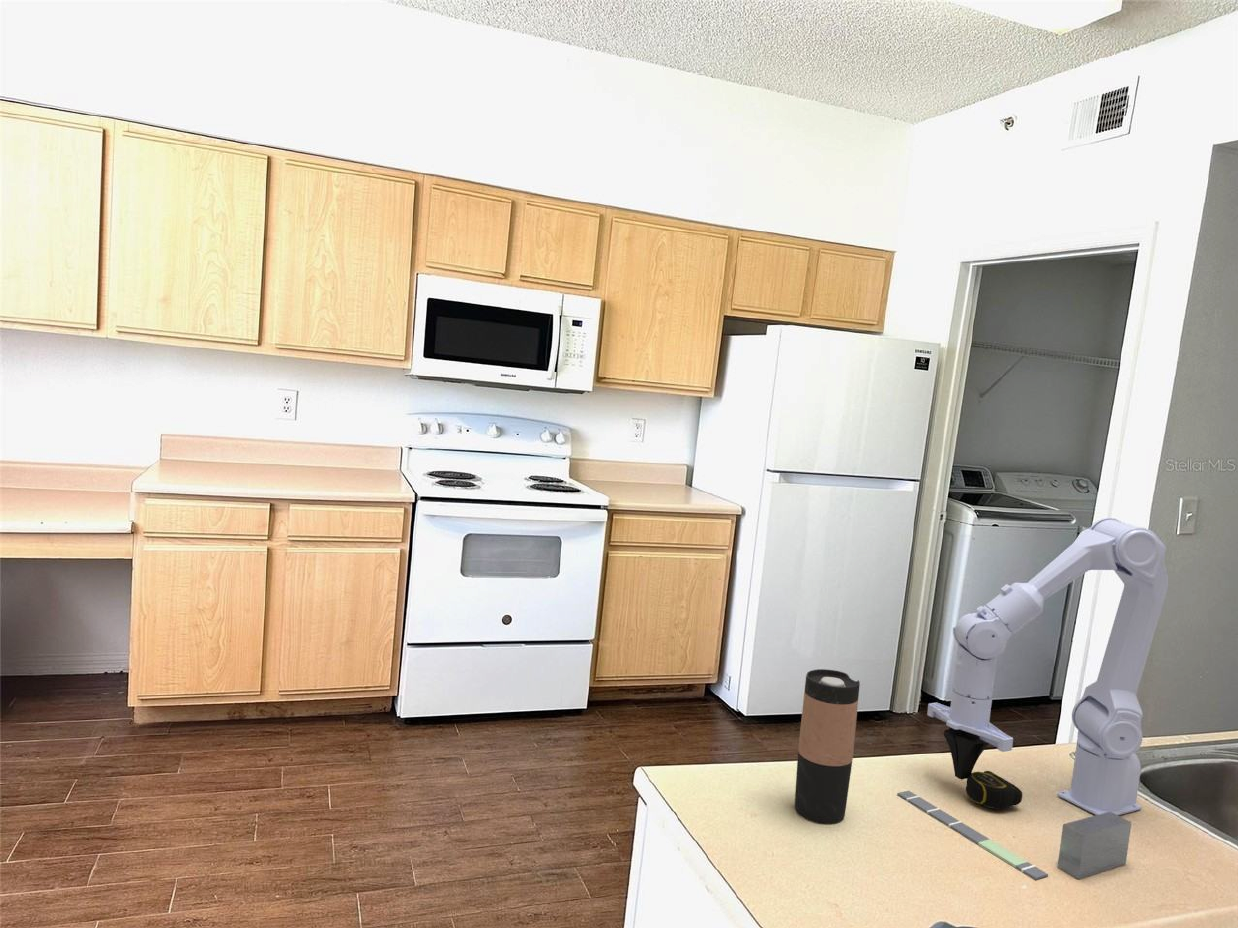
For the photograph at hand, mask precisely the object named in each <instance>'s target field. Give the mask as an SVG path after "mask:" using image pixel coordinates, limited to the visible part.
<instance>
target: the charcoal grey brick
mask: <svg viewBox="0 0 1238 928" xmlns="http://www.w3.org/2000/svg"><path fill="white" fill-rule="evenodd" d="M1131 829H1132V821H1131V820H1128V819H1126V818H1123V817H1122V816H1121V815H1116V814H1114V813H1112V812H1107V813H1103V814H1099V815H1093V816H1089V817H1085V818H1081V819H1078V820H1074V821H1071V822H1067V823H1063V824H1062V830H1061V838H1060V846H1059V854H1058V858H1057V860H1058V861H1057V868H1058V869H1059V870H1062V871H1063V872H1065V873H1066V874H1068V875H1070V876H1071V877H1073V878H1075V879H1077V880H1082V879H1085V878H1087V877H1091V876H1094V875H1097V874H1101V873H1103V872H1107V871H1109V870H1113V869H1116V868H1119V867H1122V866H1125V865H1126V864H1127V858H1128V850H1129V843H1130V836H1131V835H1130V834H1131Z"/></svg>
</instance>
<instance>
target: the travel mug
mask: <svg viewBox="0 0 1238 928" xmlns="http://www.w3.org/2000/svg"><path fill="white" fill-rule="evenodd" d="M804 683H805V684H804V691H803V692H804V693H803V702H802V710H801V721H800V729H799V740H798V746H797V747H798V749H797V760H796V761H797V762H796V776H795V777H796V778H795V792H794V793H795V794H794V809H795V812H796V813H797V815H799V817H802V818H803V819H805V820H807V821H810V822H812V823H815V824H822V825H836V824H838V823H841V822H842V821H843V820H844V818H845V816H846V810H847V803H848V795H849V789H850V780H851V773H852V767H853V759H854V750H855V749H854V747H855V738H856V727H857V716H858V705H859V695H860V686H861V684H860V680H859V679H858V680H857V681H856V680H853V679H852V678H851V677H850V676H849V674H848V673H846V672H843V671H839V670H835V669H826V668H825V669H821V668H820V669H813V670H810V671H808V672H807V673H806V674H805V681H804Z"/></svg>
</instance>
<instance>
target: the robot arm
mask: <svg viewBox="0 0 1238 928" xmlns="http://www.w3.org/2000/svg"><path fill="white" fill-rule="evenodd" d="M1166 552H1167V547H1166V546H1165V544H1164V543H1163V542H1162V540H1161V539H1160V538H1159V537H1158V536H1157V534H1156V533H1154V532H1153V531H1152V530H1150V529H1148V528H1145V527H1143V526H1135V525H1133V524H1130V523H1126V522H1124V521H1121V520H1118V519H1116V518H1114V517H1113V518H1112V517H1106V518H1104V517H1103V518H1100V519H1098V520H1097V521H1095V522H1094V523H1092V524H1091V526H1090V527H1089V528H1086V529H1085V530H1083V531H1081V532H1080V533H1079V534H1078V535H1077V537H1076V538H1075V540H1074V542H1072V544H1070V545H1069V546H1068V547H1067V548H1066V549H1065V550H1064V551H1063V552H1060V554H1059V555H1058V556H1057V557H1055V558H1054V559H1053V560H1052V561H1051V562H1050V563H1048V564H1047V565H1046V566H1045V567H1044V568H1043V569H1042V570H1040V571H1039V572H1038V573H1037V574H1035V576H1033V577H1032V578H1031V579H1030V580H1029V581H1028V582H1014V583H1011V584H1010V585H1009V584H1008V583H1006V584H1005V585H1004V586H1002V587H1001V588H1000V590H1001V592H1000V593H999V594H997V595H996V596H995V597H994V598H993V599H991V600H990V601H989V602H987V604H985V605H983V606H982V605H980V606H978V607H977V608H976V612H972V613H967V614H965V615H962V617H961V618H959V619H958V621H957V622H956V625H955V626H954V627H952V635H953V637H954V640H955V641H956V643H957V651H956V658H955V664H954V673H953V682H952V693H951V700H950V706H947V705H944V704H941V703H939V702H931V703H930V702H929V703H928V705H927V713H926V716H928V717H930V718H937V719H939V720H940V721H942V722H944V723H946V726H947V727H949V728H948V729H944V730H943V736H944V739H945V740H946V743H947V746H948V747H949V750H950V755H951V760H952V765H953V773H954V777H955V778H957V779H959V780H961V781H962V780H965V779H966V780H967V777H968V776H969V775H970V774H971V773H973V770H974V768H975V765H976V763H977V761H978V759H979V758H980V756H981V754H982V753H984V750H985V749H986V748H987V747H988V746H989V745H992V746H993V747H996V748H997V750H998V751H1000V752H1002V753H1005V752H1010V751H1012V750H1013V744H1014V743H1013V742H1014V737H1012V736H1010V735H1009V734H1007V733H1005V732H1003V731H1002V730H1001V729H999V728H998V727H997V726H995V725H994V724H992V723H991V722H990V719H991V711H992V710H991V708H992V704H993V693H994V687H995V686H994V683H995V677H996V670H997V669H996V667H997V657H998V656H1000V655H1002V654H1003V653H1004V651H1005V650H1006V647H1007V643H1008V640H1009V639H1010V638H1012V636H1013V635H1015V634H1016V633H1017V632H1019V631H1020V630H1021V629H1023V628H1024V627H1026V625H1028V624H1029V623H1030V622H1032V621H1033V620H1034V619H1035V618H1037V617H1039V615H1041V614H1042V613H1043V611H1044V603H1045V600H1047V599H1048V598H1050V597H1051V596H1053V595H1055V594H1056V593H1057V592H1060V591H1061V590H1063V588H1065V587H1066V586H1069V584H1071V583H1072V582H1074V581H1075V580H1077V579H1078V578H1080V577H1081V576H1083V575H1084V574H1086V573H1087V572H1089V571H1114V573H1115V574H1116V575H1117V576H1118V578H1119V579H1120V580H1121V582H1122V583H1123V589H1122V593H1121V596H1120V601H1119V603H1118V607H1117V609H1116V614H1115V617H1114V620H1113V624H1112V628H1111V630H1110V634H1109V637H1108V641H1107V644H1106V647H1105V651H1104V655H1103V657H1102V661H1101V665H1100V668H1099V671H1098V675H1097V679H1096V680H1095V681H1094V682H1092V683H1090V684H1089V685H1088V686H1086V687H1085V688H1084V692H1083V694H1082V696H1081V698H1080V699H1079V700H1078V701H1077V702H1076V703H1075V705H1074V706H1073V708H1072V711H1071V721H1072V723H1073V725H1074V727H1075V728H1076V729H1077V737H1076V746H1075V755H1074V759H1073V760H1074V761H1073V769H1072V777H1071V784H1070V789H1065V790H1062V791H1058V792H1057V793H1056V794H1057V796H1058V797H1059V798H1061V799H1064V800H1065V801H1068V802H1069V803H1071V804H1074V805H1076V806H1077V807H1078V808H1081V809H1084V810H1085V811H1087V812H1089V813H1091V814H1093V815H1094V816H1096V815H1099V814H1103V813H1107V812H1112V813H1114V814H1116V815H1118V816H1121V815H1124V814H1127V813H1131V812H1135V811H1139V810H1141V809H1142V807H1143V806H1142V805H1141V804H1139V803H1137V798H1138V790H1139V783H1140V776H1141V768H1142V767H1141V762H1140V758H1139V757H1138V756H1137V753H1136V752H1137V751H1138V750H1139V749H1140V748H1141V746H1142V742H1143V731H1142V720H1143V717H1144V714H1143V710H1142V708H1141V704H1140V703H1139V702H1140V701H1139V699H1138V696H1137V693H1138V690H1139V687H1140V682H1141V679H1142V677H1143V674H1144V670H1145V666H1146V663H1147V659H1148V655H1149V653H1150V649H1151V646H1152V643H1153V639H1154V637H1155V632H1156V629H1157V625H1158V622H1159V619H1160V616H1161V612H1162V608H1163V605H1164V603H1165V599H1166V596H1167V593H1168V588H1169V583H1170V582H1169V576H1168V572H1167V568H1166V563H1165V558H1164V557H1165V554H1166Z"/></svg>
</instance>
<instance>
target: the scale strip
mask: <svg viewBox="0 0 1238 928" xmlns="http://www.w3.org/2000/svg"><path fill="white" fill-rule="evenodd" d="M896 794H897V796H898V797H900V798H901V799H903V800H905V801H906V802H908V803H909V804H911V805H912V806H914V807H916V808H918V809H920V810H921V811H923V812H924V813H926V814H927V815H929V816H930V817H933V818H934V819H935V820H937V821H938V822H940V823H942V824H944V825H946V826H947V827H948V828H949V829H952V830H953V831H955V832H957V833H958V834H960V835H962V836H964V837H965V838H966V839H968V840H969V841H971V842H973V843H975V844H976V845H978V846H979V847H981V848H982V849H984V850H986V851H987V852H989V853H991V854H992V855H994V856H995V857H997V858H999V859H1000V860H1001V861H1004V862H1005V863H1006V864H1008V865H1010V866H1011V867H1014V868H1015V869H1017V870H1018V871H1019V872H1021V873H1023V874H1025V875H1026V876H1028V877H1030V878H1032V879H1033V880H1035V881H1038V880H1040V879H1044V878H1047V877H1049V874H1048V873H1047V872H1045V871H1044V870H1042V869H1040V868H1038V867H1037V866H1036V865H1035V864H1032V863H1031V862H1029V861H1027V860H1026V859H1024V858H1023V857H1021V856H1019V855H1018V854H1015V852H1013V851H1011V850H1010V849H1008V848H1006V847H1004V845H1003V846H1002V845H1001V844H999V843H998V842H996V841H994V840H993V839H990V838H988V837H987V836H985V835H984V834H982V833H980V832H978V831H977V830H975V829H974V828H972V827H970V826H969V825H968V824H965V823H964V822H962V821H961V820H959V819H957V818H955V817H954V816H952V815H950V814H949V813H947V812H945V811H944V810H942V809H941V808H940V807H937V806H935V805H933V804H932V803H930V802H929V801H927V800H925V799H924V798H922V797H921V796H920V795H917V794H915V793H914V792H912V791H911V790H905V791H900V792H897V793H896Z"/></svg>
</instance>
